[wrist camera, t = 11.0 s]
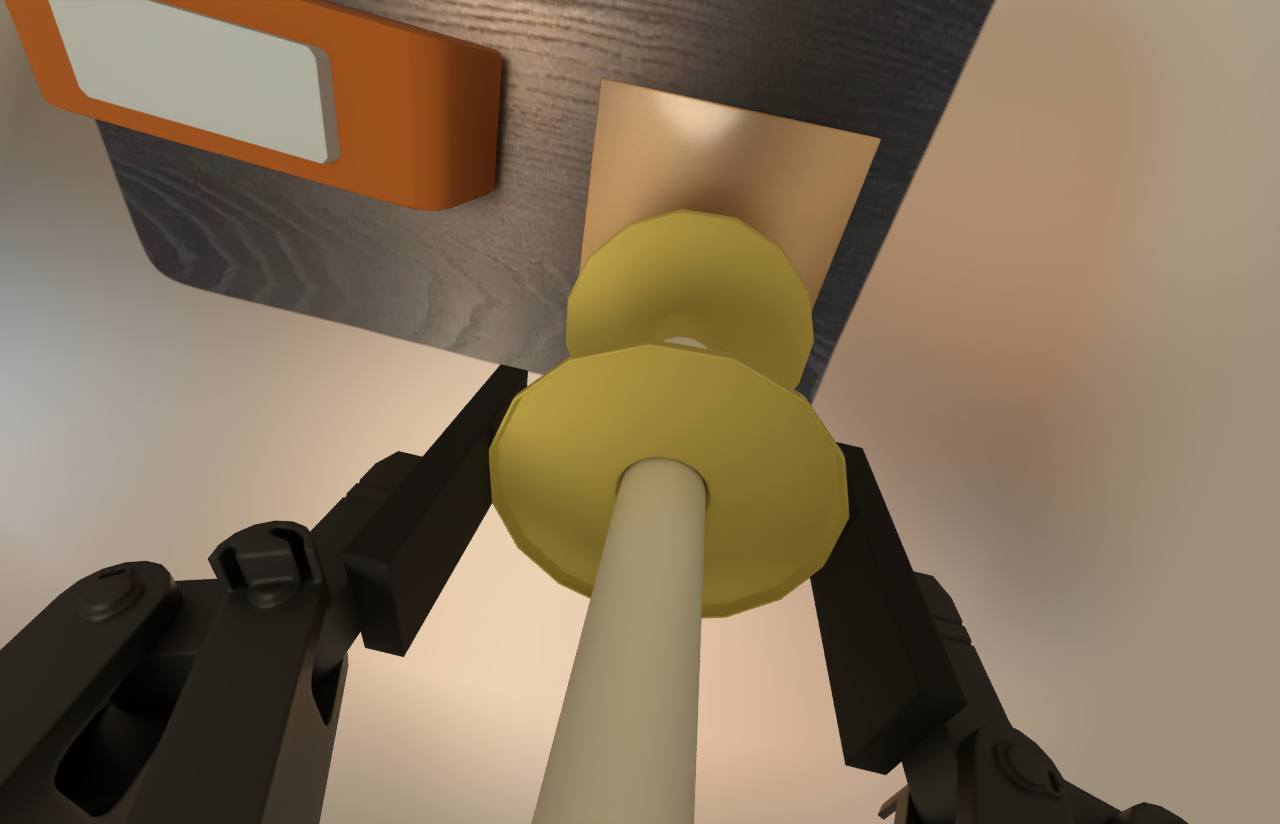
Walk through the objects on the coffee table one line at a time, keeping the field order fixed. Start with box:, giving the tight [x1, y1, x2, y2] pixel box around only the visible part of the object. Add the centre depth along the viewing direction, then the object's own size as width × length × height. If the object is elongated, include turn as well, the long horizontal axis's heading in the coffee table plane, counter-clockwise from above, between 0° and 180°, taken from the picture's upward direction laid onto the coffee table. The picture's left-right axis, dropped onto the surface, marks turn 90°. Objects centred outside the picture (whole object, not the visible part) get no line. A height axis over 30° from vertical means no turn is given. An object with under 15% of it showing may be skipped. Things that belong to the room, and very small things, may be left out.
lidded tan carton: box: [570, 78, 880, 356], centre depth 32 cm, size 14×16×9 cm
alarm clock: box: [5, 0, 502, 211], centre depth 29 cm, size 24×8×11 cm, turn 76°
